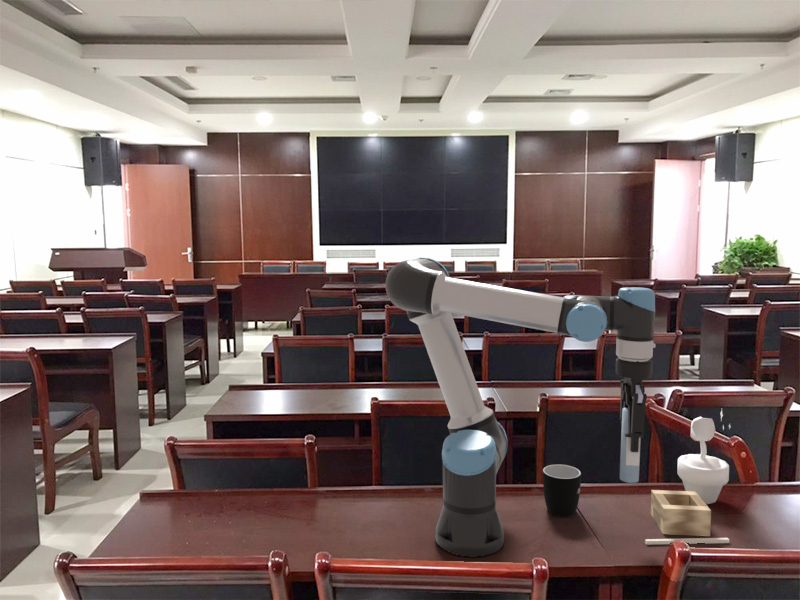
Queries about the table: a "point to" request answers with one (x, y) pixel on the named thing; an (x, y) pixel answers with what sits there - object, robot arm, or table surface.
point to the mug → (561, 489)
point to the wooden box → (680, 513)
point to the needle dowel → (626, 471)
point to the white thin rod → (687, 540)
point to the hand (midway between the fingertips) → (629, 460)
